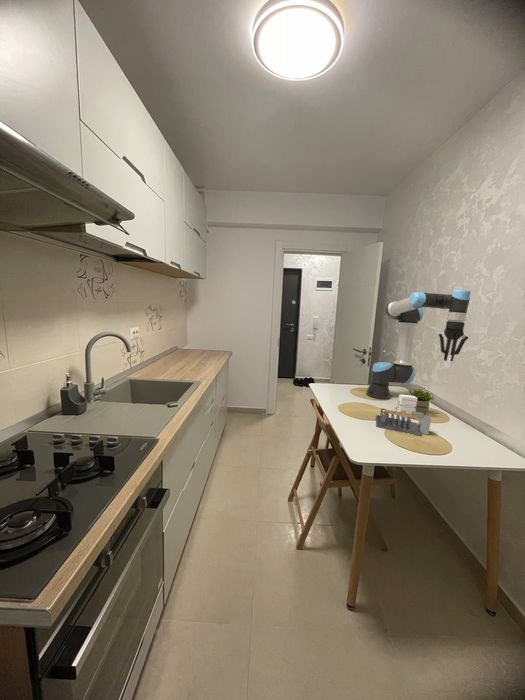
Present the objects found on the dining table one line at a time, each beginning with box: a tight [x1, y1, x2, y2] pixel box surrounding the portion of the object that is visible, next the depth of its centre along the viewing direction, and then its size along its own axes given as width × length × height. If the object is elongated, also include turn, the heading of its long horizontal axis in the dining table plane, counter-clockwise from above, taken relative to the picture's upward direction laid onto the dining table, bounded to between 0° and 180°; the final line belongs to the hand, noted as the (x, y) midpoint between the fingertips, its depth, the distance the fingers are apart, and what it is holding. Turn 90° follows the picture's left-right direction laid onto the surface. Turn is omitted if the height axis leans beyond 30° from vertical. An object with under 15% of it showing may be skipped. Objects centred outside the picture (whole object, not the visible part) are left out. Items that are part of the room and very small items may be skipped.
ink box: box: [396, 394, 418, 419], centre depth 161 cm, size 9×5×12 cm, turn 84°
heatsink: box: [375, 407, 422, 437], centre depth 144 cm, size 12×20×7 cm, turn 69°
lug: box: [412, 411, 432, 435], centre depth 141 cm, size 5×8×9 cm, turn 69°
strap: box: [382, 408, 419, 419], centre depth 144 cm, size 4×16×2 cm, turn 69°
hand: (446, 367), depth 145 cm, fingers closed
